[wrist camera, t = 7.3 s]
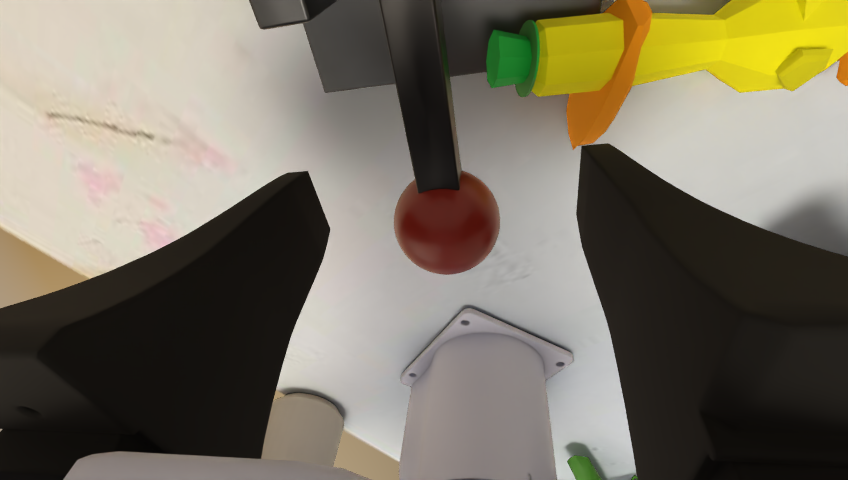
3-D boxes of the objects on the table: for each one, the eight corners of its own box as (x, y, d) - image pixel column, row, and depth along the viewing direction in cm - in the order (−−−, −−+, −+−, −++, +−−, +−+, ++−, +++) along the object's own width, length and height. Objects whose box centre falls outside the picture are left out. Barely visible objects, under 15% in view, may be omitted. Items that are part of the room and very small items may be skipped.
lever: (501, 228, 14) (504, 295, 11) (412, 233, 14) (397, 298, 12) (469, -287, 7) (459, -376, 5) (303, -238, 8) (222, -297, 5)
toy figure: (810, 157, 15) (486, 187, 16) (767, 86, 17) (473, 115, 17) (1044, -29, 9) (510, 24, 9) (943, -112, 11) (487, -66, 11)
